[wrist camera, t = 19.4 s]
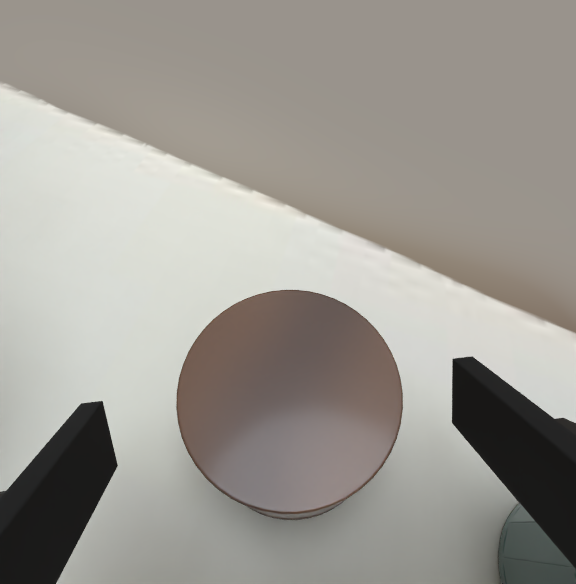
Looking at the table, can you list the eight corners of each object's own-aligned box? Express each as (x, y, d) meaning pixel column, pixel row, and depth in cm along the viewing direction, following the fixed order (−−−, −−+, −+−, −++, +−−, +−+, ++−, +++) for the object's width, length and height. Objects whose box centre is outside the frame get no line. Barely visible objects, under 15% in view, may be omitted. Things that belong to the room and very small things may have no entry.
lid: (185, 469, 22) (126, 439, 14) (261, 338, 26) (246, 260, 18) (331, 555, 20) (352, 572, 12) (390, 397, 24) (433, 337, 16)
